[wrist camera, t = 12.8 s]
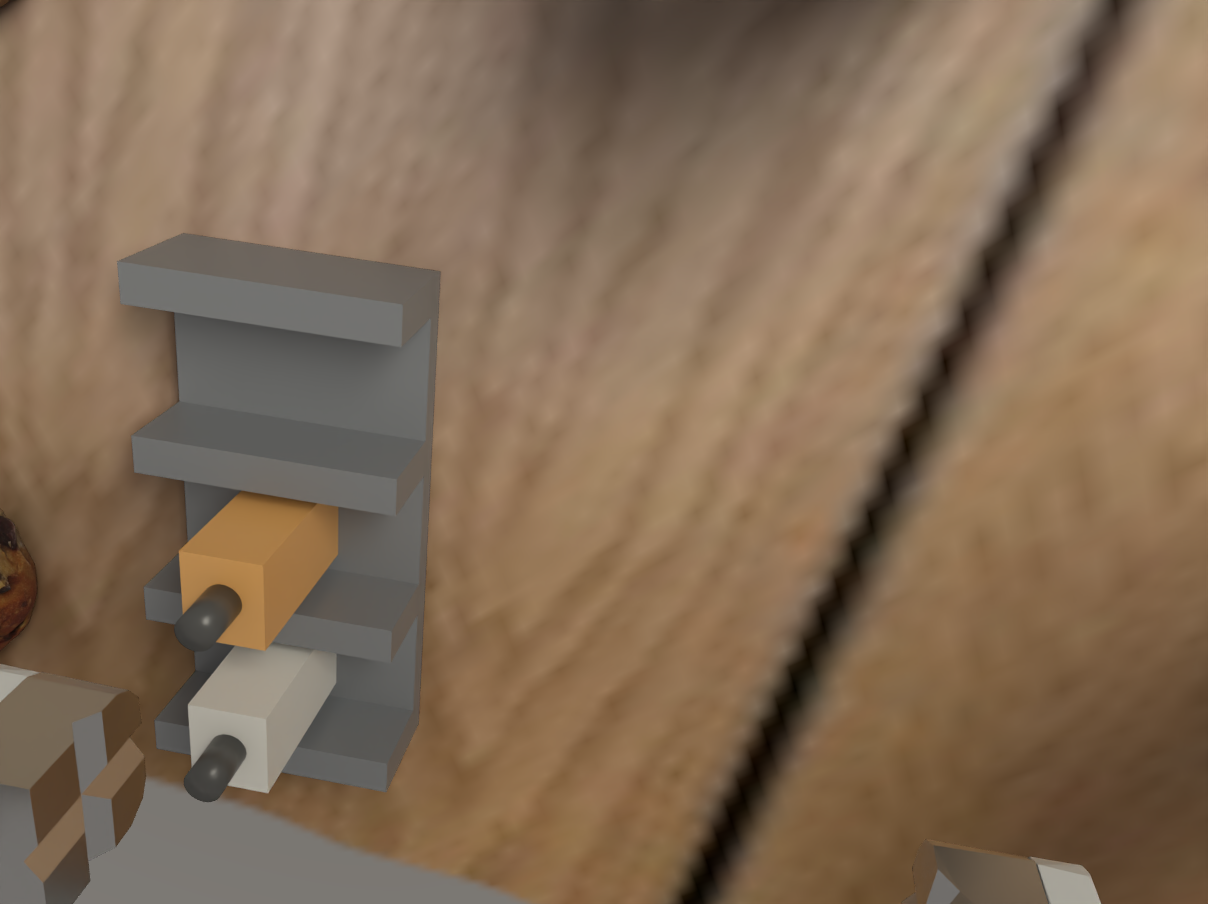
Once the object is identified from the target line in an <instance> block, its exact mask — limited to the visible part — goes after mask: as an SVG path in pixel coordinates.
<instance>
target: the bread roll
mask: <svg viewBox="0 0 1208 904" xmlns="http://www.w3.org/2000/svg"><path fill="white" fill-rule="evenodd" d="M36 594H37V579H36V570H35V564H34V562H33V560H32V558H31V556H30V554H29V553H28V551H27V549H26V547H25V545H24V544H23V542H22V540H21V538H20V536H19V533H18V531H17V529H16V527H15V525H14V523H13V522H12V521H11V520H10V519H7V517H6V516H5V514H4V512H3V511H2V510H1V509H0V651H1V650H2V649H3V648H4V647H5V646H6V645H7V644H8V643H9V642H10V641H11V640H13V639H14V638H15V637H16V636H18V635H19V634H20V632H21V631H22V630H23V629H24V628H25V626H26V625H27V624H28V622H29V620H30V617H31V614H32V610H33V606H34V603H35V599H36Z"/></svg>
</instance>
